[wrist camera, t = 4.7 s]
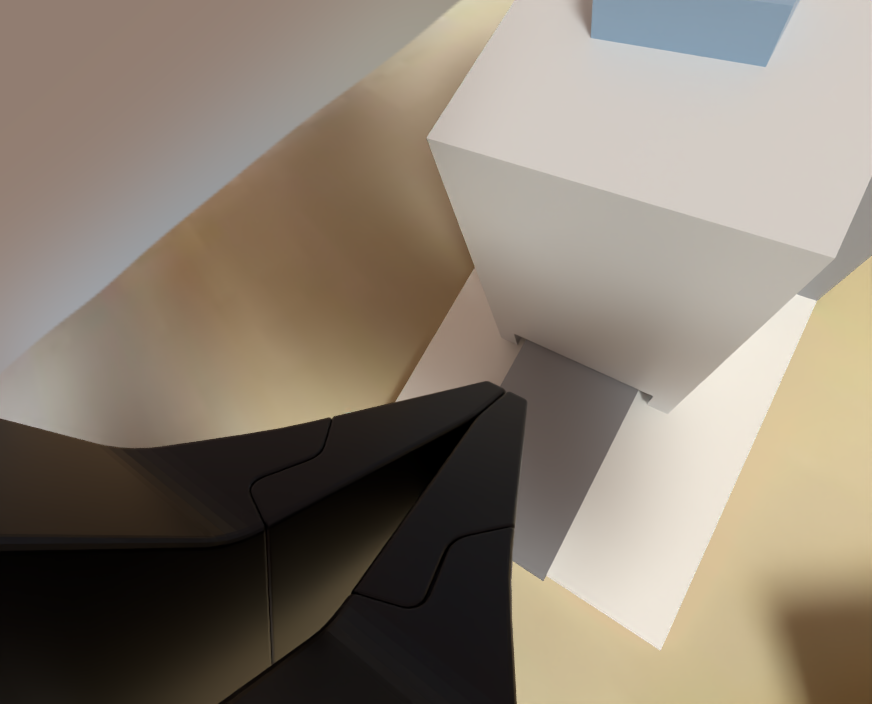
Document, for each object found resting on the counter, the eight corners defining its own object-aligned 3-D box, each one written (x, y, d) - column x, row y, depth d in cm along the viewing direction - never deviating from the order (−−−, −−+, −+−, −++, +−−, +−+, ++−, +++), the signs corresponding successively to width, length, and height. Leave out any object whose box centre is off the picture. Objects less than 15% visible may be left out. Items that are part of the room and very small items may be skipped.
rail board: (655, 642, 13) (723, 745, 7) (372, 458, 16) (274, 433, 11) (818, 279, 14) (974, 138, 9) (530, 189, 18) (514, 50, 13)
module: (667, 414, 13) (880, 216, 4) (501, 337, 15) (410, 95, 6) (736, 272, 14) (1039, -150, 5) (569, 217, 16) (573, -151, 7)
